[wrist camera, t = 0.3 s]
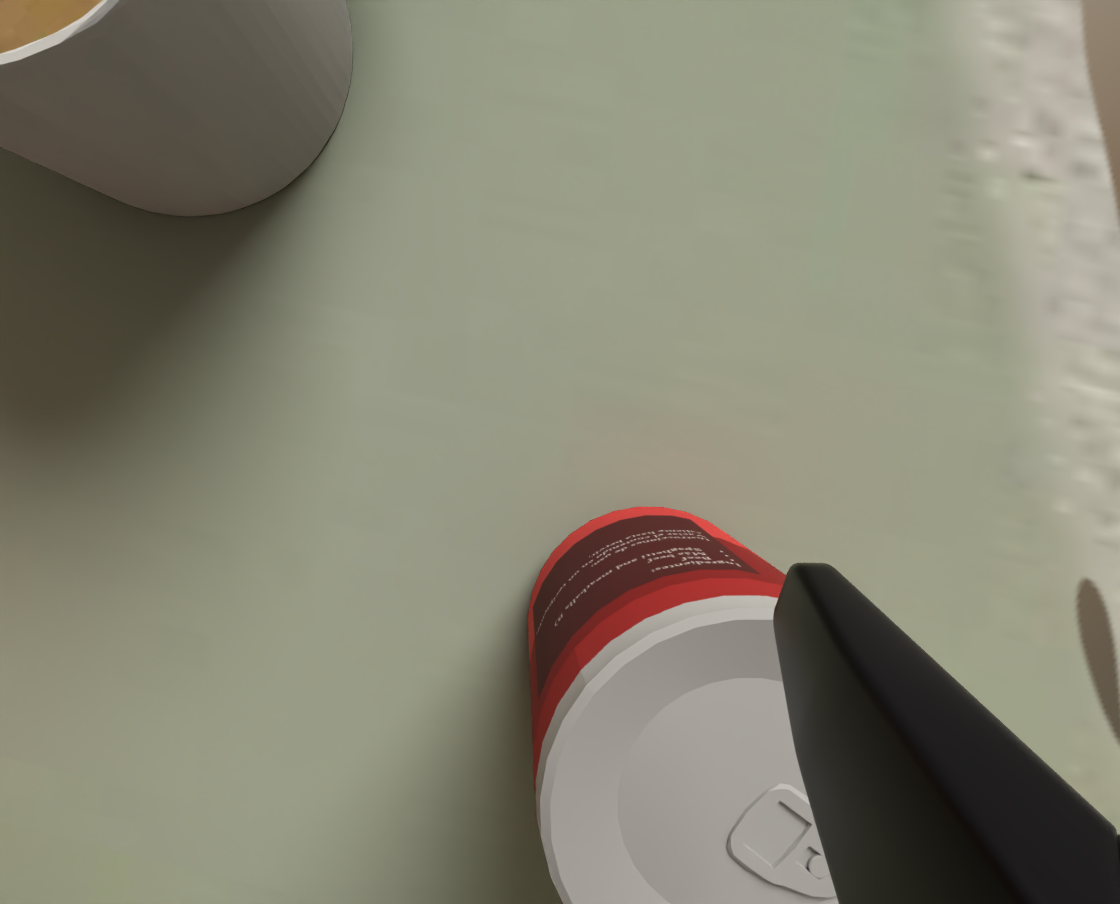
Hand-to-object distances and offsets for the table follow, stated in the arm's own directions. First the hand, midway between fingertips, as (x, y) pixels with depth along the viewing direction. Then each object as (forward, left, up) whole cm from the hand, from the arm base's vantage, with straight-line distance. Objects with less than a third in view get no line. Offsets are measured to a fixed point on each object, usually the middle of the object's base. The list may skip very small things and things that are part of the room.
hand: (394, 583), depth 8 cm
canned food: (-7, -3, -15) cm, 17 cm away
